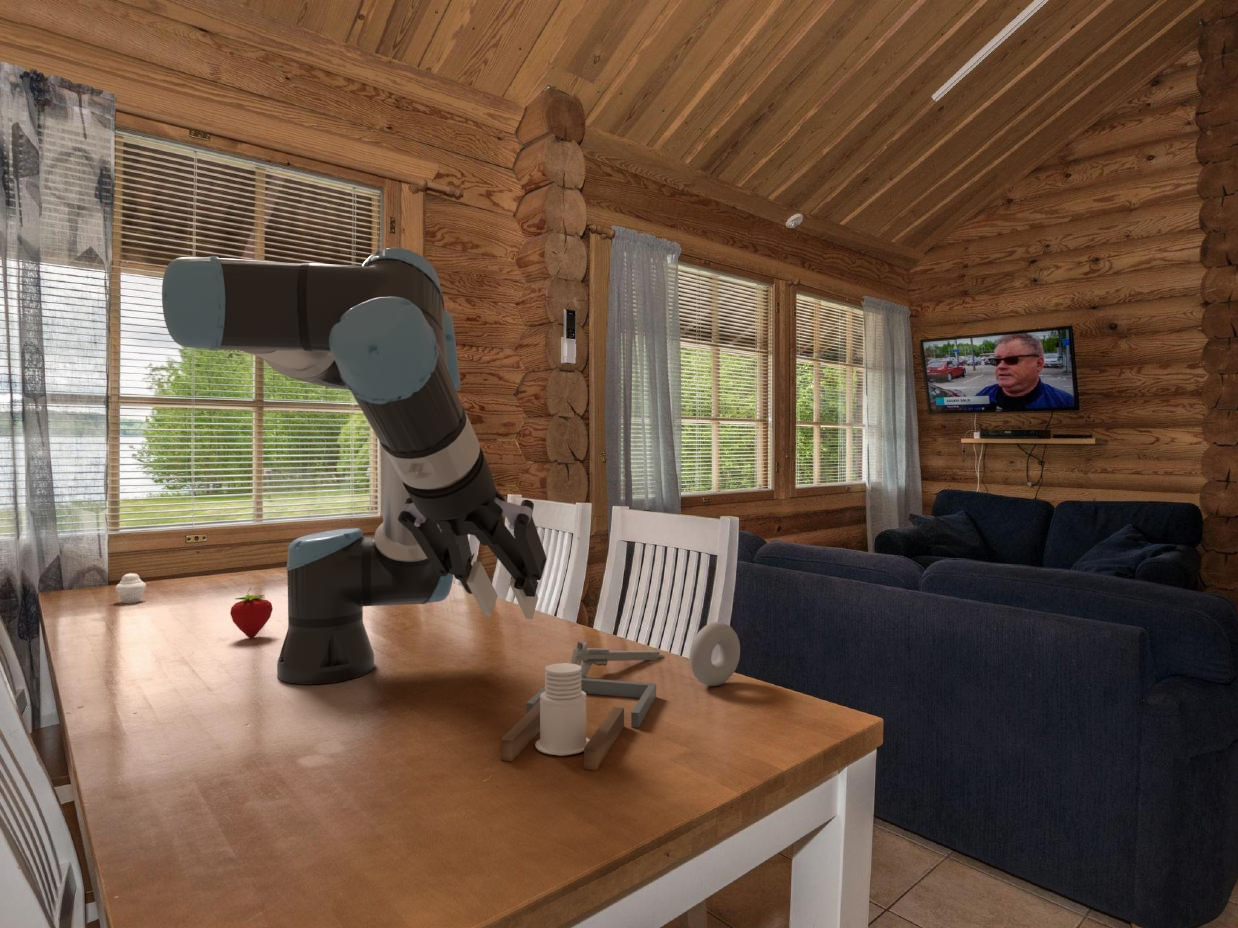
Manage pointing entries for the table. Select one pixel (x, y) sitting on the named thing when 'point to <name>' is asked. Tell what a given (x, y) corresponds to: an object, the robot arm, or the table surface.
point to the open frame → (615, 689)
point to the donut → (703, 653)
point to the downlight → (562, 711)
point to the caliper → (606, 656)
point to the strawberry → (251, 614)
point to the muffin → (130, 588)
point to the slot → (592, 751)
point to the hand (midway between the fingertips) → (511, 606)
